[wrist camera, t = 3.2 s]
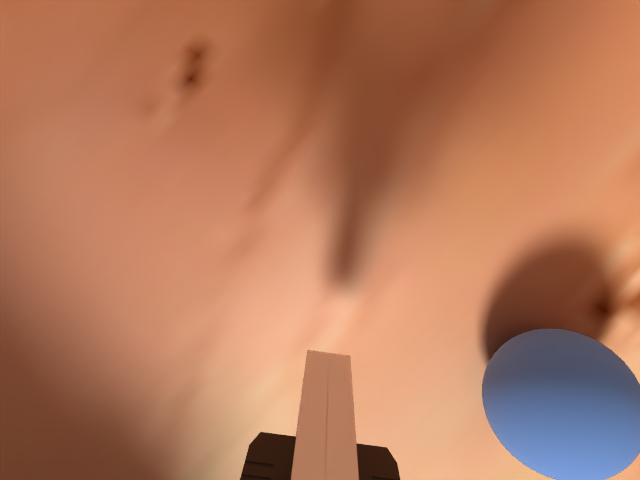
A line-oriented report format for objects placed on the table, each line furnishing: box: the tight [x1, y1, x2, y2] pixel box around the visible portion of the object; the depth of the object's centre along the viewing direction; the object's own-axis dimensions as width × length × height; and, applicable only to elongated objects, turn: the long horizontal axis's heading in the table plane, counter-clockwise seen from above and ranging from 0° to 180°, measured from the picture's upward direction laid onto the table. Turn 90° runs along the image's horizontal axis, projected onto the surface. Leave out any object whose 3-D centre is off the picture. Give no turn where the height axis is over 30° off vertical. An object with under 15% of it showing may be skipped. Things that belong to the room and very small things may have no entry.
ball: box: [482, 328, 640, 480], centre depth 16 cm, size 6×6×6 cm
